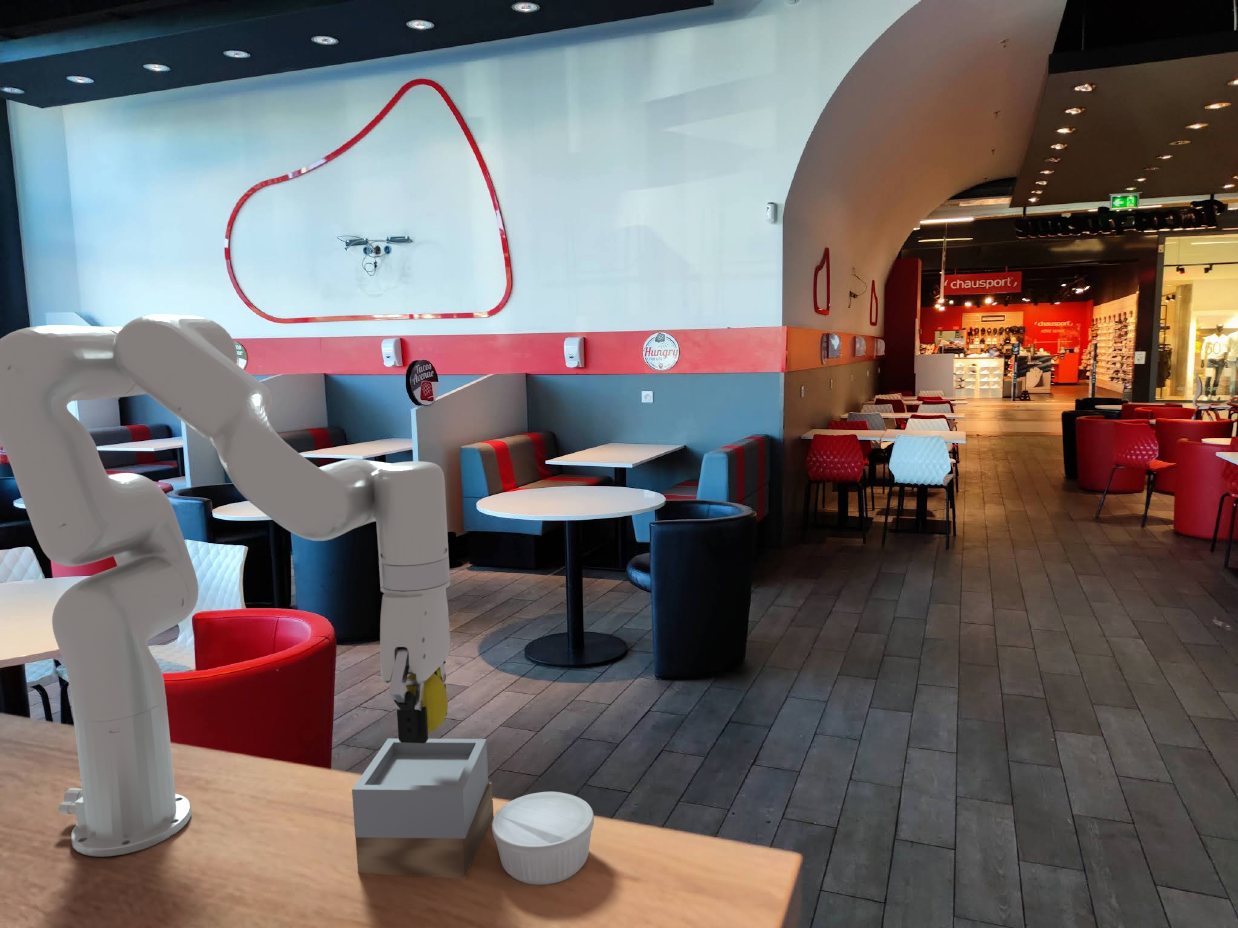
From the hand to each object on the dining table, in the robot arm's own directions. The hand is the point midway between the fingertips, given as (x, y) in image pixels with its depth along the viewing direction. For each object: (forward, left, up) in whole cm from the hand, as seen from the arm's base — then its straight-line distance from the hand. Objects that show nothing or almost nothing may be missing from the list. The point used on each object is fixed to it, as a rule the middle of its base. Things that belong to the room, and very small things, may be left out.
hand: (423, 727), depth 98 cm
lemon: (0, 0, -1) cm, 1 cm away
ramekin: (+14, -2, -14) cm, 20 cm away
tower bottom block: (0, 0, -14) cm, 14 cm away
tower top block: (0, -1, -9) cm, 9 cm away
